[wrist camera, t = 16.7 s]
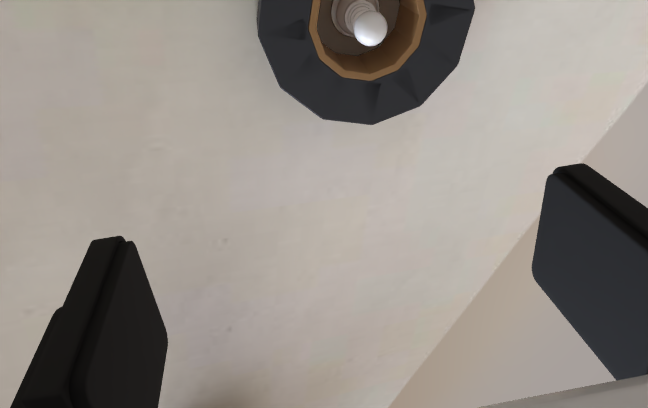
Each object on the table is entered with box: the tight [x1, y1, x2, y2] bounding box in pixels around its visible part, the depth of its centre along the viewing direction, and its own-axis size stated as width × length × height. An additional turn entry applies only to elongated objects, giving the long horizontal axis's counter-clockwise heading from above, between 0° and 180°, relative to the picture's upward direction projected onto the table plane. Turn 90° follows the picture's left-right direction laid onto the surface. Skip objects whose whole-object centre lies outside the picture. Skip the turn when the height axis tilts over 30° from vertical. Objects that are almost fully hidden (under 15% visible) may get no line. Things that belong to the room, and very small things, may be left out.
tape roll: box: [257, 0, 475, 125], centre depth 27 cm, size 11×11×4 cm
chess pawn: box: [331, 0, 387, 46], centre depth 26 cm, size 3×3×5 cm
